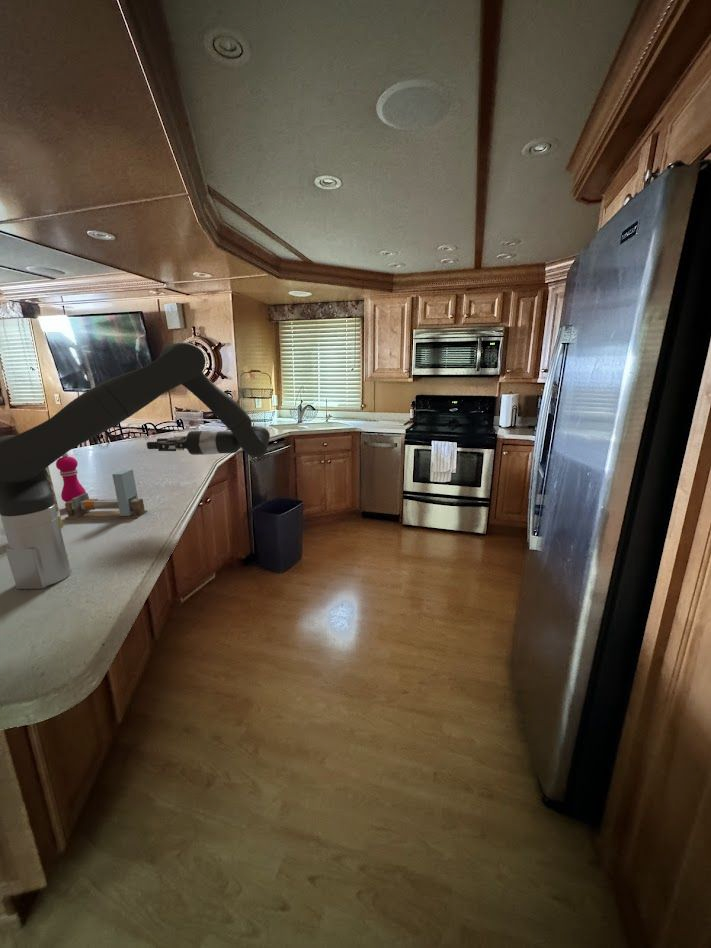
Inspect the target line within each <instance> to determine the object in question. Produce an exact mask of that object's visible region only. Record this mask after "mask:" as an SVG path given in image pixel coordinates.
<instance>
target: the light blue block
mask: <svg viewBox="0 0 711 948" xmlns="http://www.w3.org/2000/svg"><path fill="white" fill-rule="evenodd" d="M111 475H112V480H113V481H112V482H113V486H114V490H115V494H116V499H117V501H118V506H119V509H118V511H120V516H130V515H132V514H133V513H135V510H134V508H130V507H129V501H128V499H139V497H138V496H139V495H138V491H137V485H136V481H135V474H134V469H133V468H132V469H121V470H119V471H117V472H115V473H112V474H111Z"/></svg>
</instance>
